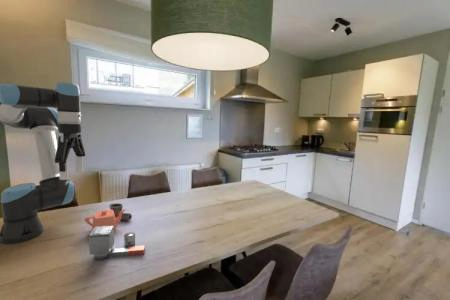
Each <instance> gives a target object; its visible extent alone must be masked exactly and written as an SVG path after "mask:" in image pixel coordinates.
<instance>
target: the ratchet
mask: <svg viewBox="0 0 450 300" xmlns="http://www.w3.org/2000/svg"><path fill="white" fill-rule="evenodd" d="M145 252H146V245H135V246H130V247H129V248H125V247H119V248H118V247H117V248H112V249H111V251H110V253H107V254H94V255H93V256H94V257H93V258H94V260H95V261H104V260H107V259H109V258H117V257H118V258H119V257H133V256H144V255H145Z"/></svg>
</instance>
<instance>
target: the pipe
mask: <svg viewBox="0 0 450 300" xmlns="http://www.w3.org/2000/svg"><path fill="white" fill-rule="evenodd" d="M108 206H109V210H113V211H114V214H115V217H116V218H117V217H118V216H119V213H120V211H121V210H123V204H122V203H117V202H116V203H111V204H109V205H108ZM132 217H133V215H132V214H131V213H129V212H123V213H122V216H121V220H120V221H131V219H132Z"/></svg>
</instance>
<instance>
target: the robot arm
mask: <svg viewBox="0 0 450 300" xmlns="http://www.w3.org/2000/svg"><path fill="white" fill-rule="evenodd" d="M0 103H1V104H0V123H1V124H3V125H5V126H7V127H9V128H10V127H11V128H14V129H29V132H30V133H31V134H32V135H34V139H35V144H36V145H35V146H36V149H37V156H38V161H39V167H40V173H41V177H42V178H41V179H40V180H39V183H38V184H39V185H38V184H37V185H36V183H34V182H24V183H19V184H16V185H12V186H9V187H6V188H5V189H4V190H2V192H1V193H0V203H1V209H2V210H1V211H2V221H3V222H2V226H1V228H0V243H2V244H16V243H21V242H25V241H28V240H31V239H33V238H36V237H38V236H39V235H41V234H42V233H43V232H44V224H43V222H41V220H40V217H39V216H38V211H40V210H45V209H50V208H54V207H58V206H64V205H66V204H70V203H71V202H72V201H73V199H74V194H75V185H74V181H73V180H69V179H70V178H69V162H67V161H68V157H69V155H70V151H71V149H72V150H73V152H74V155H75V158H74V163H75V172H84V158H83V157H85V156H86V151H85V147H84V144H83V141H82V135H81V133H82V124H81V122H82V121H81V120H82V119H81V118H82V117H83V116H82V114H81V93H80V87H79V85H78V84H76V83H72V82H64V81H62V82H61V81H60V82H57V83H55V88H46V87H39V86H38V87H36V86H29V85H27V86H26V85H20V84H13V83H10V84H8V83H0ZM55 108H56V109H57V110H56V109H55ZM57 132H58V133H60V134H62V136H61V135H60V136H59V135H58V137H57V136H56V133H57Z"/></svg>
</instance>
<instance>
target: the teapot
mask: <svg viewBox="0 0 450 300" xmlns="http://www.w3.org/2000/svg"><path fill="white" fill-rule="evenodd" d="M125 211H127V209H126V208H125V209H122V210H121V211H120V213H119V216H118V217H117V218H116V217H115V214H114V211H113V210H110V209H102V210H99V211H95V213H94V215H93V216H91V215H90V216H87V217H85V218H84V221H85V223H86V224H87V225H89V226H91V232H92V231H93V229H94V228H95V227H99V226H114V233H115V231H116V229H117V224H119V223H120V222H121V221H122V220H121V216H122V213H125ZM90 220H92V222H91V221H90Z"/></svg>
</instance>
